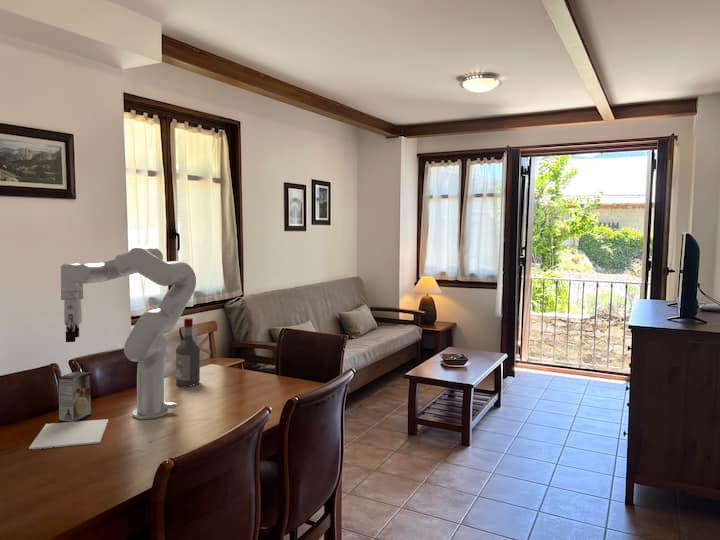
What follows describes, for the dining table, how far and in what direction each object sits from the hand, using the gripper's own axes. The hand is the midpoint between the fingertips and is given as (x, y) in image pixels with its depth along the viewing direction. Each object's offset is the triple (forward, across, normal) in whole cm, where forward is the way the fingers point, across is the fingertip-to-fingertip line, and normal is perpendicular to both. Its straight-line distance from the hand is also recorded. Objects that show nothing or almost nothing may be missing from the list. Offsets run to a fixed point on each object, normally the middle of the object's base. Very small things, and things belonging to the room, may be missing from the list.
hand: (72, 339), depth 203 cm
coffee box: (+27, -12, -2) cm, 30 cm away
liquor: (+27, +23, -44) cm, 56 cm away
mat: (+27, -30, -4) cm, 41 cm away
